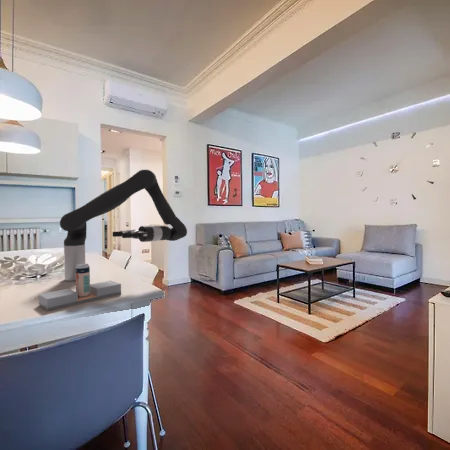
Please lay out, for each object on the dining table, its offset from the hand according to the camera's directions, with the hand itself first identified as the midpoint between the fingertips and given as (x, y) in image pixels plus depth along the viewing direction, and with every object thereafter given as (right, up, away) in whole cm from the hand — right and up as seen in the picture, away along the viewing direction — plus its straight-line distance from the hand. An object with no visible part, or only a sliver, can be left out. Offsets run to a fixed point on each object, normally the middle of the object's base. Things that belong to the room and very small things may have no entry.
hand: (117, 234), depth 115 cm
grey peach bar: (-8, -24, -13) cm, 29 cm away
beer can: (-8, -23, -13) cm, 28 cm away
